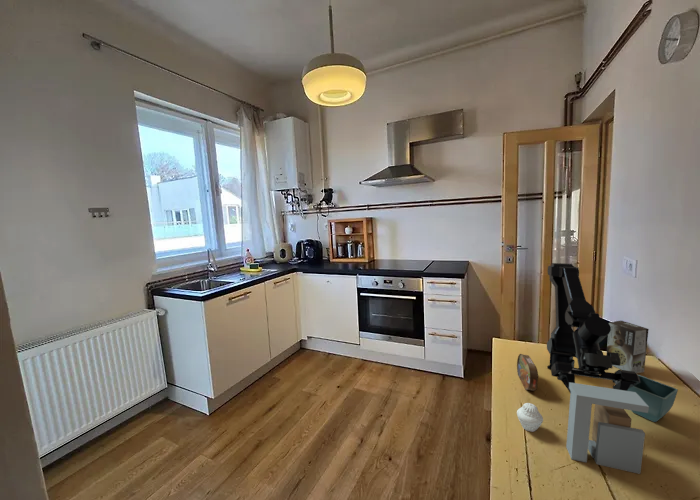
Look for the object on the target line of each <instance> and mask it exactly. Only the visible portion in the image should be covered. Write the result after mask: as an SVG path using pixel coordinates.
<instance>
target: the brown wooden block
mask: <svg viewBox="0 0 700 500" xmlns="http://www.w3.org/2000/svg"><path fill="white" fill-rule="evenodd" d="M598 422H603V423H608V424H614V425H619V426H625V427H630V428H632V427H631V426H632V418H631V416H630V415H629V414H628V413H627V411H626V409H621V408H615V407H609V406H603V405H597V404H594V412H593V422H592V433H591V440H593V441H595V442H596V441H597V430H598Z"/></svg>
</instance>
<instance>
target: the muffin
mask: <svg viewBox="0 0 700 500" xmlns="http://www.w3.org/2000/svg"><path fill="white" fill-rule="evenodd" d="M516 416H517V419H518V420H519V422H520V426H521V427H522V428H523V429H524V430H525V431H527V432H531V433H532V432H536V431H537V430H538V429H539V428H540V426H542V424H543V421H544V417H543V415H542V414H541V413H540V412H539V410H538V407H537V406H536V405H535V404H533V403H530V402H526V403H523V405H522V406H521V407H519V408H518V409H517V411H516Z"/></svg>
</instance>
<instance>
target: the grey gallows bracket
mask: <svg viewBox="0 0 700 500" xmlns="http://www.w3.org/2000/svg"><path fill="white" fill-rule="evenodd" d="M569 389H570V391H571V394H570V393H569V395H570V396H569V406H568V407H569V408H568V419H567V420H568V422H567V431H566V433H567V434H566V445H565V447H566V450H567V451H568V454H569V456H570V459H571V460H574V461H578V462H582V463H586V464H587V462H588V453H590V456H591V457H592V459H594V462H595V464H596V465H598V466H602V467H608V468H612V469H616V470H621V471H626V472H629V473H635V474H639V475H640V474H641V473H642V472H641V471H642V464H643V463H642V461H643V456H644V455H643V453H644V445H645V438H646V433H645V432H644V430H643V429H641V428H634V427H631V428H630V427H625V426H619V425H614V424H608V423H603V422H598V430H597V441H596V442H595V441H593V439H590V428H591V418H592V407H593V405H595V404H597V405H603V406H609V407H615V408H621V409H624V410H628V411H631V410H633V411H639V412H645V413H648V410H649V406H648V405H647V404H646V403H645V402H644V401H643V400H642V399H641V397H640V396H639V395H638V394H637V393H636V392H631V391H624V390H618V389H613V388H609V387H604V386H595V385H590V384H583V383H577V382H575V383H571V382H569ZM588 451H589V452H588Z"/></svg>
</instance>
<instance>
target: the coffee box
mask: <svg viewBox="0 0 700 500" xmlns="http://www.w3.org/2000/svg"><path fill="white" fill-rule="evenodd" d="M608 324H609V325H610V327H611V331H610V333H609V334H608V335H607V345H606V354H607V353H608V352H613V353H618V354H619V357H620V363H621V364H620V366H618V365H612V367H615V368H617V369H618V370H626V371H634V372H635V373H636V374H641V373H644V372H645V367H646V356H647V347H648V339H649V338H648V337H649V330H650V329H649V328H647V327H644V326H640V325H637V324H634V323H631V322H628V321H624V320H616V321H611V322H610V321H609V322H608Z"/></svg>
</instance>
